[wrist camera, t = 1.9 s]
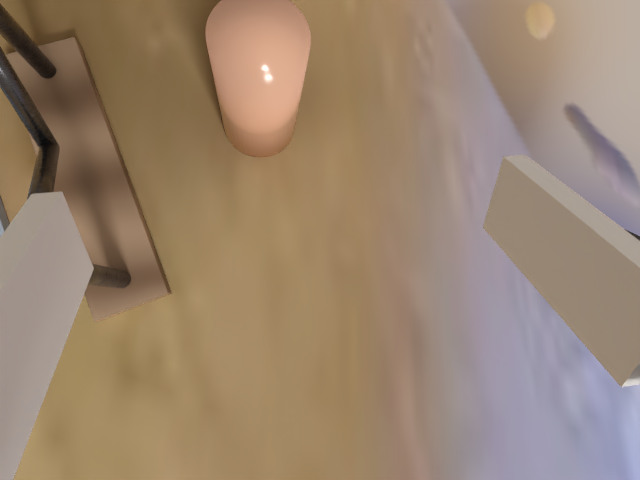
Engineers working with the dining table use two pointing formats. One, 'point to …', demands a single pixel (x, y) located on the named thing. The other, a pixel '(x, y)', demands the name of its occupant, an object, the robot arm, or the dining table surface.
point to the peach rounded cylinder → (258, 70)
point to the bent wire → (41, 126)
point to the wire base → (94, 179)
